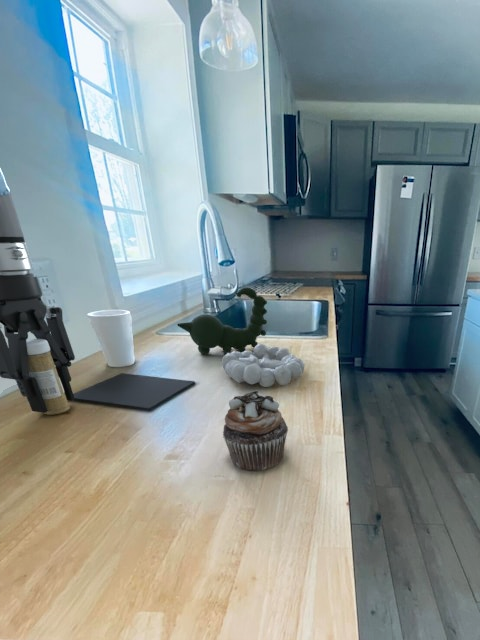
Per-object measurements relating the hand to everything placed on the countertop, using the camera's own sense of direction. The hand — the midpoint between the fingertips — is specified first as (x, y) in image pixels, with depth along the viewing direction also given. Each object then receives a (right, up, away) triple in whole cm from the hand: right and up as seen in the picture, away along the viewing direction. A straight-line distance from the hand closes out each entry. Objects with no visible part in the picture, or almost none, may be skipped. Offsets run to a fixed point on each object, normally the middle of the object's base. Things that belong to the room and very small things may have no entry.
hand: (54, 404), depth 70 cm
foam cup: (-3, +13, +28) cm, 31 cm away
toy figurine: (+23, +19, +40) cm, 49 cm away
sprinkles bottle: (0, -1, +1) cm, 1 cm away
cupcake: (+41, -9, -13) cm, 44 cm away
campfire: (+37, +9, +21) cm, 43 cm away
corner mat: (+10, +4, +10) cm, 15 cm away
